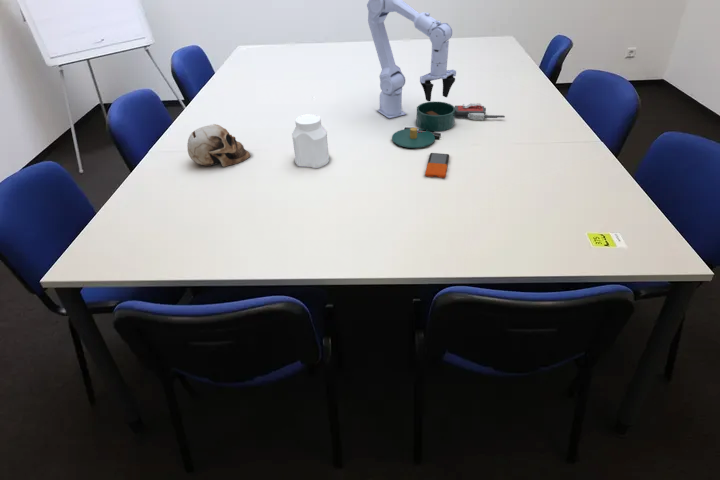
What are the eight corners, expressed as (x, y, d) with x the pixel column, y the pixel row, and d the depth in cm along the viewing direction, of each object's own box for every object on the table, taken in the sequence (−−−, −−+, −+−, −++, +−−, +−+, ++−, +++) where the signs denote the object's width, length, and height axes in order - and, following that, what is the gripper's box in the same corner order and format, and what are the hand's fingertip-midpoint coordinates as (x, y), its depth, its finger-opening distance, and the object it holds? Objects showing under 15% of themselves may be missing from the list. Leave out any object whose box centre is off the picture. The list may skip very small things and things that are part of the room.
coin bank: (254, 154, 165) (243, 119, 157) (218, 180, 156) (204, 144, 147) (224, 145, 173) (213, 112, 165) (188, 169, 163) (173, 135, 155)
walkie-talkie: (451, 120, 184) (504, 121, 182) (452, 109, 181) (506, 110, 179) (451, 111, 191) (501, 112, 189) (452, 101, 188) (503, 101, 186)
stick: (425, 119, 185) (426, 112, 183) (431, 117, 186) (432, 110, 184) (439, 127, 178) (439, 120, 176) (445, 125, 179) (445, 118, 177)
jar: (291, 165, 158) (285, 123, 149) (301, 153, 166) (296, 112, 157) (323, 169, 156) (320, 126, 147) (332, 155, 163) (329, 114, 154)
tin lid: (384, 137, 174) (384, 126, 171) (419, 127, 179) (420, 117, 177) (406, 153, 163) (406, 142, 160) (443, 143, 168) (444, 132, 166)
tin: (409, 121, 185) (409, 106, 181) (439, 113, 190) (440, 98, 186) (429, 134, 175) (430, 119, 171) (461, 126, 180) (463, 110, 176)
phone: (424, 173, 149) (430, 152, 160) (424, 177, 150) (429, 155, 161) (445, 175, 148) (449, 153, 159) (445, 178, 148) (449, 156, 160)
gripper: (428, 67, 163) (426, 105, 171) (462, 60, 168) (458, 98, 176) (417, 62, 168) (415, 99, 176) (450, 55, 173) (447, 92, 181)
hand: (436, 98), depth 176 cm, fingers open, 7 cm apart
